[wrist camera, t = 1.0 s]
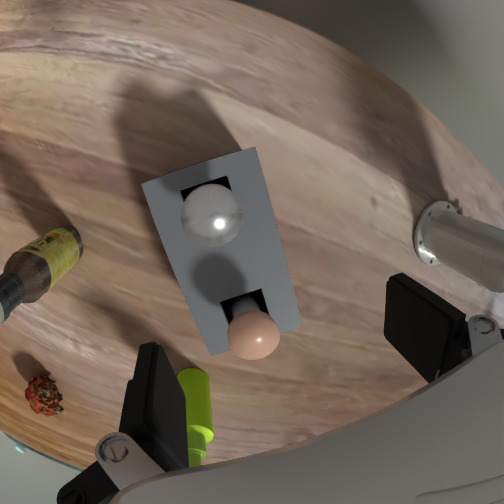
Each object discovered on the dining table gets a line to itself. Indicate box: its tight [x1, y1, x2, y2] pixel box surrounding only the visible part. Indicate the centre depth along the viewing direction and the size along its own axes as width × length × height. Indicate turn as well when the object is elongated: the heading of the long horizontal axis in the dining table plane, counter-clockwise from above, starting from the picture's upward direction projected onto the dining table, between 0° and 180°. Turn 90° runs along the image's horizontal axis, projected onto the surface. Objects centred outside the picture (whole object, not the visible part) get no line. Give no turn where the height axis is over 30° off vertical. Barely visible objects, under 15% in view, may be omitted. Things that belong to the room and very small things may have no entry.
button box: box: [141, 147, 302, 356], centre depth 36 cm, size 12×22×10 cm, turn 16°
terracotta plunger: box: [227, 293, 280, 360], centre depth 31 cm, size 5×5×8 cm
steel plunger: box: [181, 184, 243, 247], centre depth 27 cm, size 5×5×8 cm
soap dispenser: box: [177, 368, 214, 468], centre depth 38 cm, size 6×7×20 cm
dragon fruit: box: [25, 375, 64, 417], centre depth 40 cm, size 8×8×12 cm
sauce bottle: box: [0, 227, 83, 324], centre depth 27 cm, size 6×6×20 cm
